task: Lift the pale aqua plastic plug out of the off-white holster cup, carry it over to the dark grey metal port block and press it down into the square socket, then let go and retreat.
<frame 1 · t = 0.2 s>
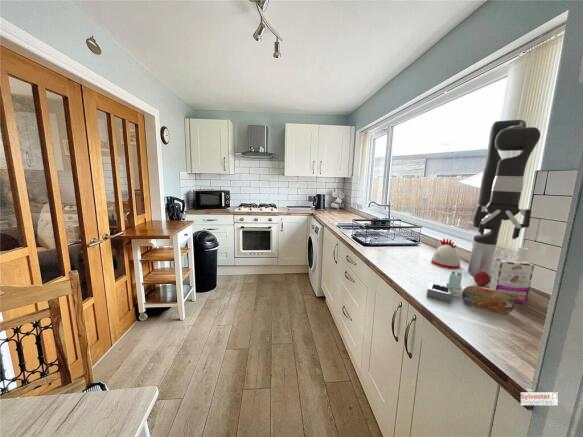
hand: (497, 236, 83), 28 cm above the countertop, fingers open, 8 cm apart
port: (438, 297, 96), on the countertop
plug: (452, 292, 100), resting on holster
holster: (452, 293, 100), on the countertop
onion: (480, 286, 108), on the countertop
tin: (484, 309, 88), on the countertop
bath foam: (514, 291, 104), on the countertop
white dome: (445, 264, 136), on the countertop
candy bar box: (506, 299, 97), on the countertop
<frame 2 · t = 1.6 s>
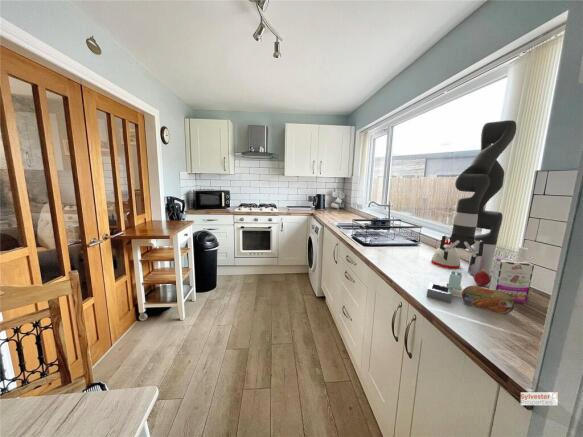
hand: (458, 262, 98), 14 cm above the countertop, fingers open, 8 cm apart
nothing on the countertop moved.
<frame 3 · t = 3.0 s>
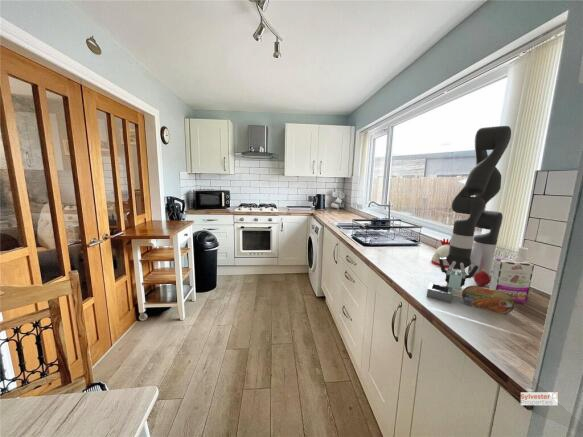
hand: (454, 284, 99), 4 cm above the countertop, fingers closed on plug, 4 cm apart
plug: (453, 292, 100), resting on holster, touching gripper
everything else where it was.
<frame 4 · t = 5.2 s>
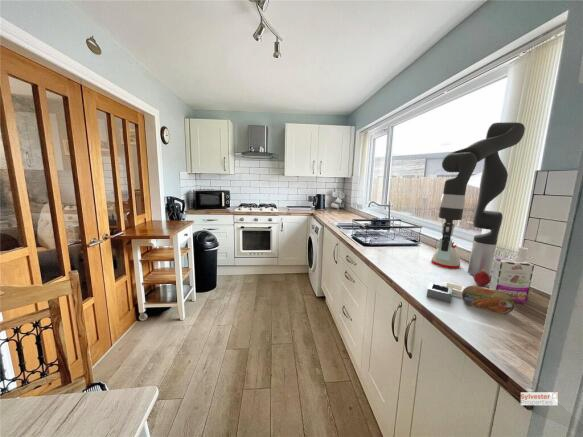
hand: (444, 249, 93), 20 cm above the countertop, fingers closed on plug, 4 cm apart
plug: (443, 258, 93), point 16 cm above the countertop, touching gripper
everything else where it was.
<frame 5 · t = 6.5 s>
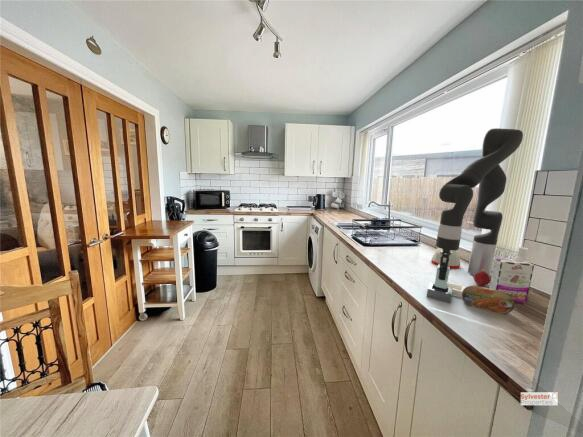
hand: (442, 277, 94), 9 cm above the countertop, fingers closed on plug, 4 cm apart
plug: (440, 286, 95), point 5 cm above the countertop, touching gripper
everything else where it was.
when the fingers open (5 cm above the countertop, at t = 7.5 s): plug stays where it is, resting on port.
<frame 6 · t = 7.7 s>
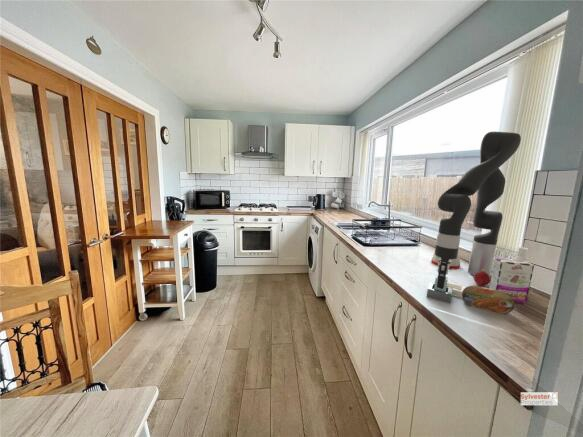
hand: (440, 285, 95), 5 cm above the countertop, fingers open, 5 cm apart
plug: (438, 296, 96), resting on port
everything else where it was.
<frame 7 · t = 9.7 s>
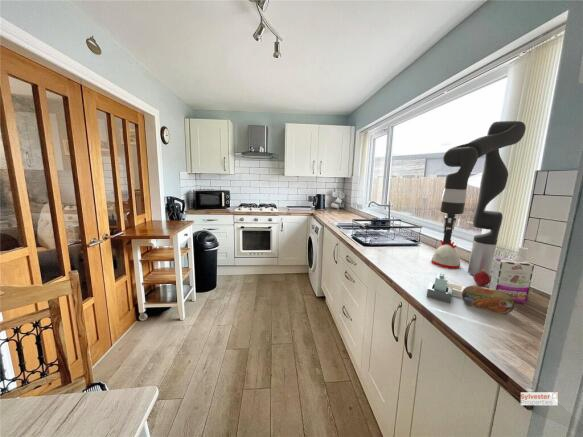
hand: (446, 241, 94), 23 cm above the countertop, fingers open, 8 cm apart
nothing on the countertop moved.
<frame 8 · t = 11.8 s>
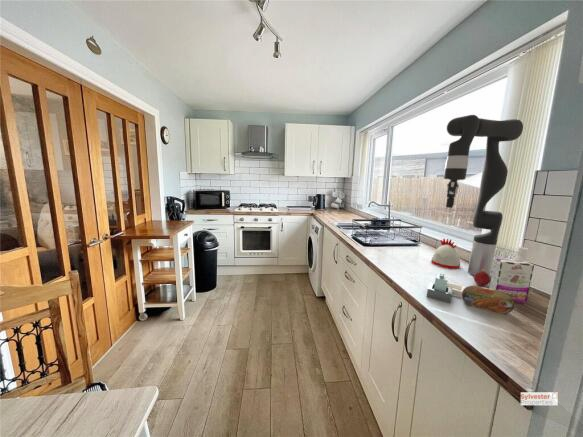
hand: (449, 206, 100), 36 cm above the countertop, fingers open, 8 cm apart
nothing on the countertop moved.
at the end: plug 0.0 cm off-centre on the port, point 0.5 cm above the port's base; plug tilted 0°; the gripper is holding nothing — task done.
